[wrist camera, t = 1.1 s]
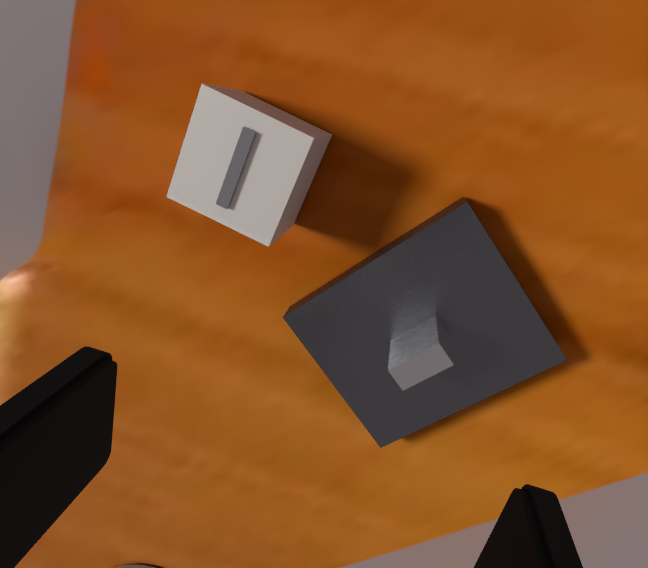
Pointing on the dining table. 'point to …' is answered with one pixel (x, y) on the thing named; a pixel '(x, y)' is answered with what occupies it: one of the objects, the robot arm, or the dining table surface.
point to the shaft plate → (411, 297)
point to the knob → (246, 163)
